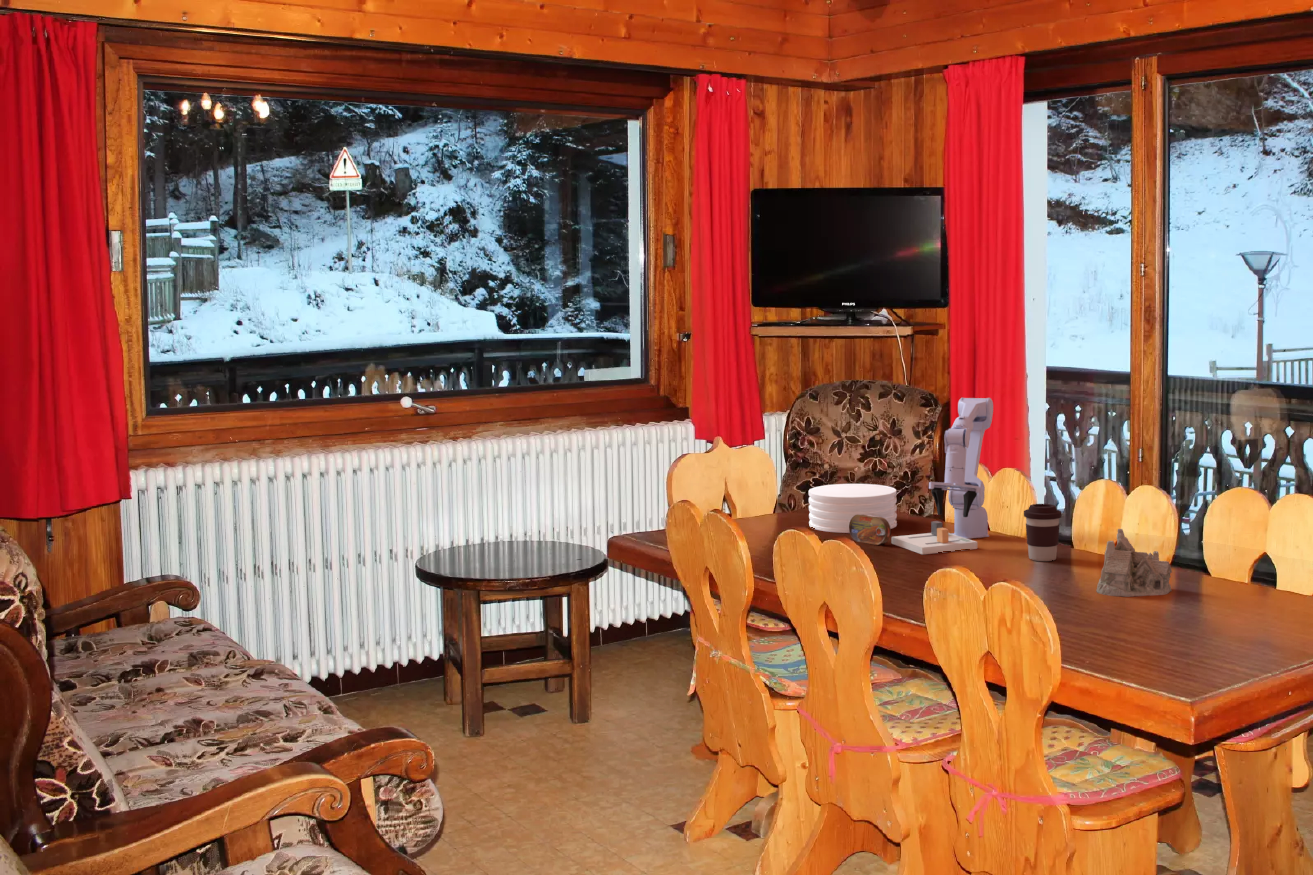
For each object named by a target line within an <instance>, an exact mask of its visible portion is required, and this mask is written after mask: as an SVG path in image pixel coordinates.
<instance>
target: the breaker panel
mask: <svg viewBox="0 0 1313 875" xmlns="http://www.w3.org/2000/svg"><path fill="white" fill-rule="evenodd" d="M890 538H891V544H892V545H895V546H897V547H900V548H903V549H906V550H909V551H911V552H915V553H917V554H920V555H931V554H939V553H938V552H942V553H944V552H943V551H951V552H956V551H955V550H961V549H970V550H976V549H978V541H976V540H972V539H966V538H963V537H960V536H957V535H954V534H951V533H950V532H948V543H941V542H938V541H937V536H935V535H932V534H931V532H927V533H917V534H916V533H915V534H909V535H898V536H896V535H895V536H890ZM961 551H962V550H961Z"/></svg>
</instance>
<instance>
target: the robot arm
mask: <svg viewBox="0 0 1313 875" xmlns="http://www.w3.org/2000/svg"><path fill="white" fill-rule="evenodd" d="M957 413H958V417H956V418H955V420H954V421H953V424H952V426H951V427H950V428H948V429H946V430H945V431H944V437H943V438H944V453H945V468H944V469H945V470H944V481H943V482H942V481H941V482H940V481H939V482H938V481H929V482H928V489H929V490H931V491H930V492H931V495H932V497H933V501H934V503H935V508H936V512H937V515H939V516H940V515H942V514H943V501H944V496H945V491H948V503H949V505H950V506H951V507H952V509H954V510H953V512H954V517H953V518H954V521H953V522H954V524H953V525H954V532H952V533H951V534H954V535H957V536H960V537H963V538H966V539H970V540H972V539H977V538H978V539H980V538H988V537H990V534H989V533H988V532H989V531H988V530H989V529H988V528H989V526H988V524H989V523H988V521H989V520H988V519H989V517H988V512H987V509H986V508H985V507H983V505H984V502H985V484H984V482H983V481H982V480H981V479H980V478H979V477H978V472H979V466H980V460H981V453H982V445H983V441H984V440H983V439H984V436H985V431H986V430H988V429H989V428H991V424H992V423H993V422H992V421H993V414H994V402H993V400H992V398H991V397H986V398H984V397H983V398H982V397H980V398H979V397H977V398H975V397H961V398H960V399H959V400H958V402H957Z"/></svg>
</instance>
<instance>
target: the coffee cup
mask: <svg viewBox="0 0 1313 875" xmlns="http://www.w3.org/2000/svg"><path fill="white" fill-rule="evenodd" d="M1023 517H1024V518H1025V519H1026V520H1025V521H1026V522H1025V530H1026V532H1025V533H1026V543H1027V551H1028V559H1030V560H1031V559H1032V560H1031V561H1035V562H1053V561H1055V560H1056V559H1057V554H1058V545H1059V535H1060V519H1061V518H1062V510H1060V509H1059V510H1058V509H1057V506H1056V505H1054V504H1051V503H1032V504H1030V505H1029V506H1028V509H1024V511H1023ZM1052 560H1053V561H1052Z"/></svg>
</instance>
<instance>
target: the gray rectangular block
mask: <svg viewBox="0 0 1313 875" xmlns="http://www.w3.org/2000/svg"><path fill="white" fill-rule="evenodd" d="M930 523H931V524H930V525H931V527H930V529H931V530H930V533H931V534H932V535H935V536H937V528H943V522H941V521H939V520H934V521H933V520H932V521H930Z"/></svg>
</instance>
